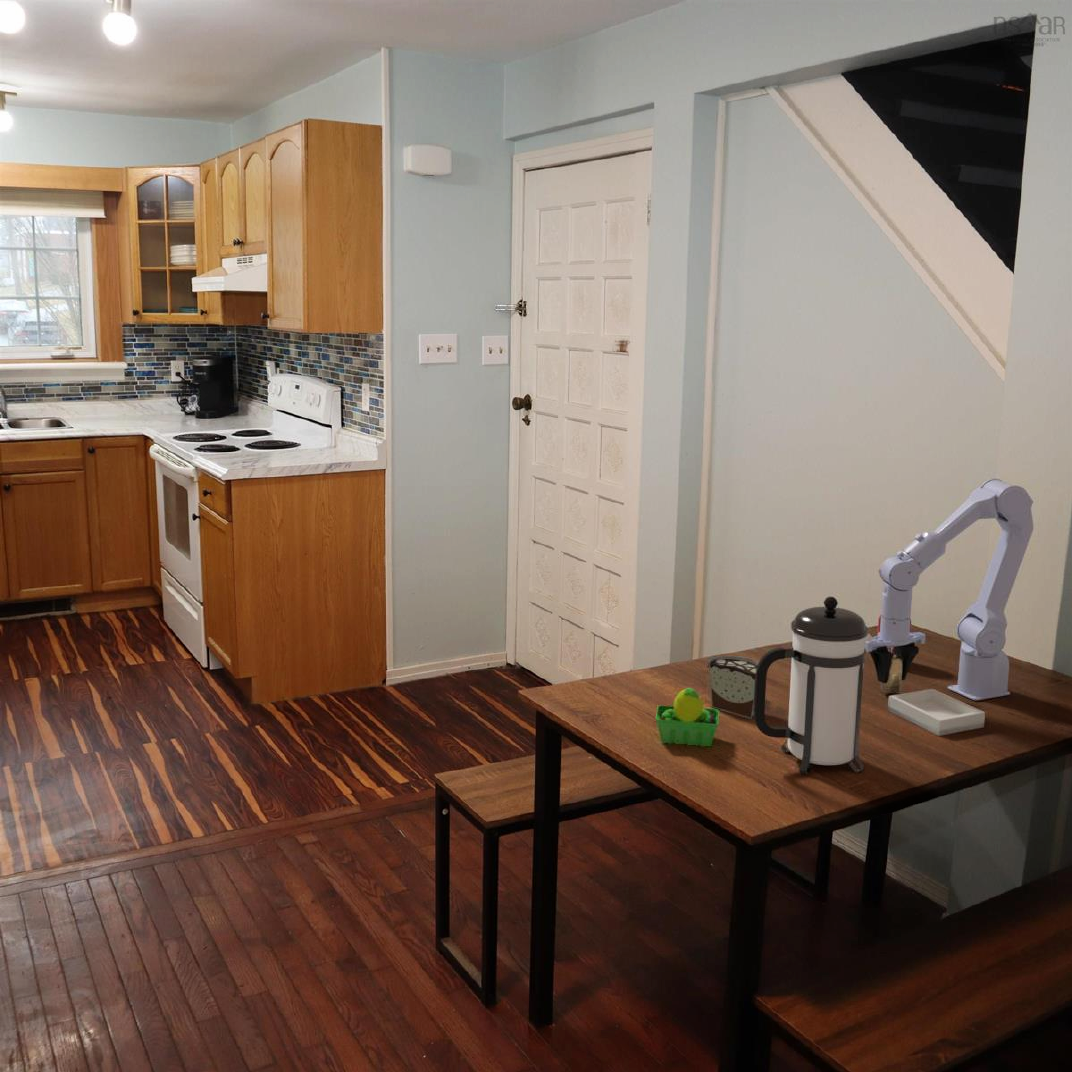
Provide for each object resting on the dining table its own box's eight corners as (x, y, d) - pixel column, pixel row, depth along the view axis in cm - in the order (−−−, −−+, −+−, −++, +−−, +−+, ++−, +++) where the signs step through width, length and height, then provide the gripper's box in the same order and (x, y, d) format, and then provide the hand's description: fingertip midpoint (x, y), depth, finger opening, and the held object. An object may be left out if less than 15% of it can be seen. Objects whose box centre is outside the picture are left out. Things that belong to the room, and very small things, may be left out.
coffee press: (800, 736, 204) (809, 580, 198) (880, 760, 193) (892, 596, 187) (748, 764, 192) (756, 598, 186) (831, 791, 181) (842, 617, 175)
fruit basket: (718, 734, 205) (720, 676, 203) (717, 753, 197) (719, 693, 194) (657, 730, 207) (658, 673, 205) (653, 748, 199) (655, 689, 196)
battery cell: (891, 684, 228) (894, 649, 226) (905, 691, 224) (907, 655, 223) (876, 687, 226) (878, 652, 225) (889, 693, 223) (891, 658, 221)
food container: (775, 712, 216) (777, 664, 214) (758, 721, 211) (760, 672, 209) (722, 697, 224) (724, 650, 222) (705, 705, 220) (706, 657, 218)
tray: (931, 702, 221) (932, 688, 220) (983, 727, 208) (985, 712, 208) (887, 710, 217) (888, 696, 216) (938, 735, 204) (939, 720, 204)
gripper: (910, 607, 228) (906, 669, 231) (853, 615, 223) (850, 678, 226) (934, 616, 222) (929, 680, 225) (876, 624, 217) (872, 689, 220)
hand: (891, 680), depth 225 cm, fingers closed on battery cell, 4 cm apart
